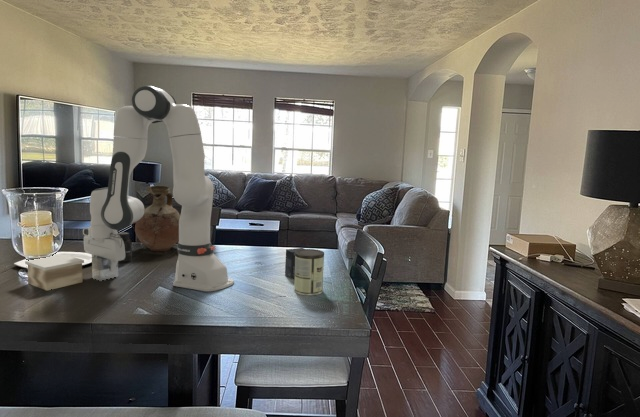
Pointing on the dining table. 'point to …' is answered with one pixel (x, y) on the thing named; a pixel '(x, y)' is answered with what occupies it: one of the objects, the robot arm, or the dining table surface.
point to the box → (290, 262)
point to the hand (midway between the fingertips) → (104, 268)
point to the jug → (159, 221)
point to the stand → (54, 271)
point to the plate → (79, 255)
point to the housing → (102, 269)
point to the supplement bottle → (126, 247)
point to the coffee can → (309, 272)
